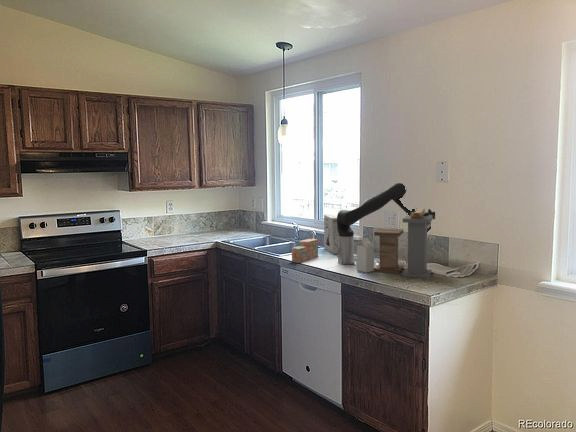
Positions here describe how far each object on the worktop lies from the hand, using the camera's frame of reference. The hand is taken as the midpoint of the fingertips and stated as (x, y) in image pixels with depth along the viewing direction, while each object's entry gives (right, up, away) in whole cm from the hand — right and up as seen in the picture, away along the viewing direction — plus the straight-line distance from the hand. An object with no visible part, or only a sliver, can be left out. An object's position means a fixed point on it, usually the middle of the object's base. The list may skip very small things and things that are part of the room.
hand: (421, 210), depth 267 cm
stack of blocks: (-66, -32, +37) cm, 82 cm away
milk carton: (-32, -35, +3) cm, 48 cm away
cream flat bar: (-3, -3, -6) cm, 7 cm away
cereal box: (-45, -28, +62) cm, 81 cm away
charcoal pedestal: (-5, -36, -8) cm, 37 cm away
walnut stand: (-18, -35, +4) cm, 39 cm away
